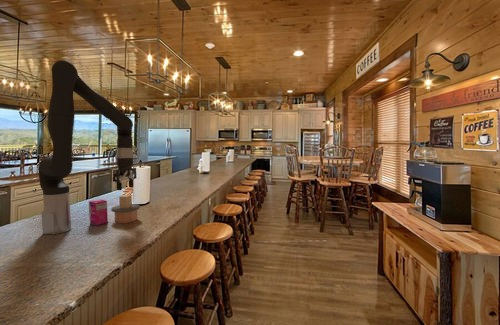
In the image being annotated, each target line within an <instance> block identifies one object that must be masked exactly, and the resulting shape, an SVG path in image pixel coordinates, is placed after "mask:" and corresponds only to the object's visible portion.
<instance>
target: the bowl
mask: <svg viewBox="0 0 500 325" xmlns="http://www.w3.org/2000/svg"><path fill="white" fill-rule="evenodd" d="M113 213H114V222H115V223H117V224H127V223H132V222H135V221H137V219H138V209H137V210H135V211H130V212H113Z"/></svg>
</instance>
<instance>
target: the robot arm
mask: <svg viewBox="0 0 500 325" xmlns="http://www.w3.org/2000/svg"><path fill="white" fill-rule="evenodd" d="M51 79H52V82H51V83H52V89H51V95H50V101H49V107H48V111H47V112H48V113H47V130H48V133H49V135H50V138H51V142H52V148H53V149H52V156H47V157H46V156H45V157H44V158H42V159H41V161H40V162H39V165H38V180H39V186H40V188H41V190H42V199H43V201H42V202H43V211H42V212H41V225H42V234H44V235H57V234H61V233H65V232H68V231H71V229H72V220H71V218H72V217H71V196H70V186H69V185H68V184H67V183H66V182H65V180H64V179H65V178H67V177H69V175H70V174H71V173H72V170H73V134H74V128H75V126H74V124H75V103H74V102H75V101H74V93H75V94H76V95H78V96H79V97H80V98H81V99H83V100H85V101H86V103H88V104H89V105H90V106H91V107H92V108H94V110H96V111H97V112H98V113H99V114H100V115H102V116H103V117H104V118H106V119H108V120H109V121H110V122H112V123H113V125H115V127H116V131H117V138H116V166H117V167H118V169H115V168H114V169H113V170H112V182H114V183H115V184H116V190H117V191H122V189H123V180H124V179H125V178H127V179H128V188H134V180H135V179H137V167H133V166H134V147H133V143H134V142H133V141H134V140H133V136H132V135H133V126H134V125H133V124H134V123H133V122H134V121H133V120H132V119H131V118H130V117H129V116H128V115H126V114H125V113H124V112H123V111H121V110H119V108H118V107H116V105H114V104H113V103H112V102H111V101H110V100H108V98H106V97H104V96H103V95H102V94H101V93H99V92H97V91H96V90H94V89H92V87H90V86H89V85H88V84H87V83H86V82H85V81H84V80H83V79H82V77H80V75H79V72H78V69H77V67H76V66H75V65H74V64H73V63H72V62H70V61H68V60H65V59H61V60H60V59H59V60H57V61H55V62H54V63H53V65H52V66H51Z"/></svg>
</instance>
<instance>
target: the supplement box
mask: <svg viewBox="0 0 500 325" xmlns="http://www.w3.org/2000/svg"><path fill="white" fill-rule="evenodd" d="M107 202H108V201H107V200H106V199H95V200H90V201H88V215H89V225H93V226H95V227H99V226H102V225H106V224H108V223H109V220H108V203H107Z"/></svg>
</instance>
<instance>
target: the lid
mask: <svg viewBox="0 0 500 325" xmlns="http://www.w3.org/2000/svg"><path fill="white" fill-rule="evenodd" d="M118 199H119V205H115V206H113V207H111V209H110V210H111V212H113V213H114V212H130V211H135V210H137V211H138V210H140V208H141V207H140V205H139V204H134V203H133V201H132V200H133V198H132V194H131V195H130V194H123V195H119V198H118Z"/></svg>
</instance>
